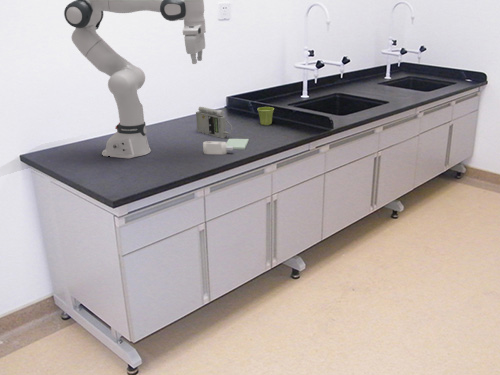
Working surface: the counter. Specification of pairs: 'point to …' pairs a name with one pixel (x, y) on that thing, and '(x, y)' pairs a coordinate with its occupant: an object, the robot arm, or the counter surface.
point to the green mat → (238, 143)
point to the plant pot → (265, 115)
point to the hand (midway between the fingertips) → (197, 62)
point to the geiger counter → (211, 122)
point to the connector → (215, 147)
